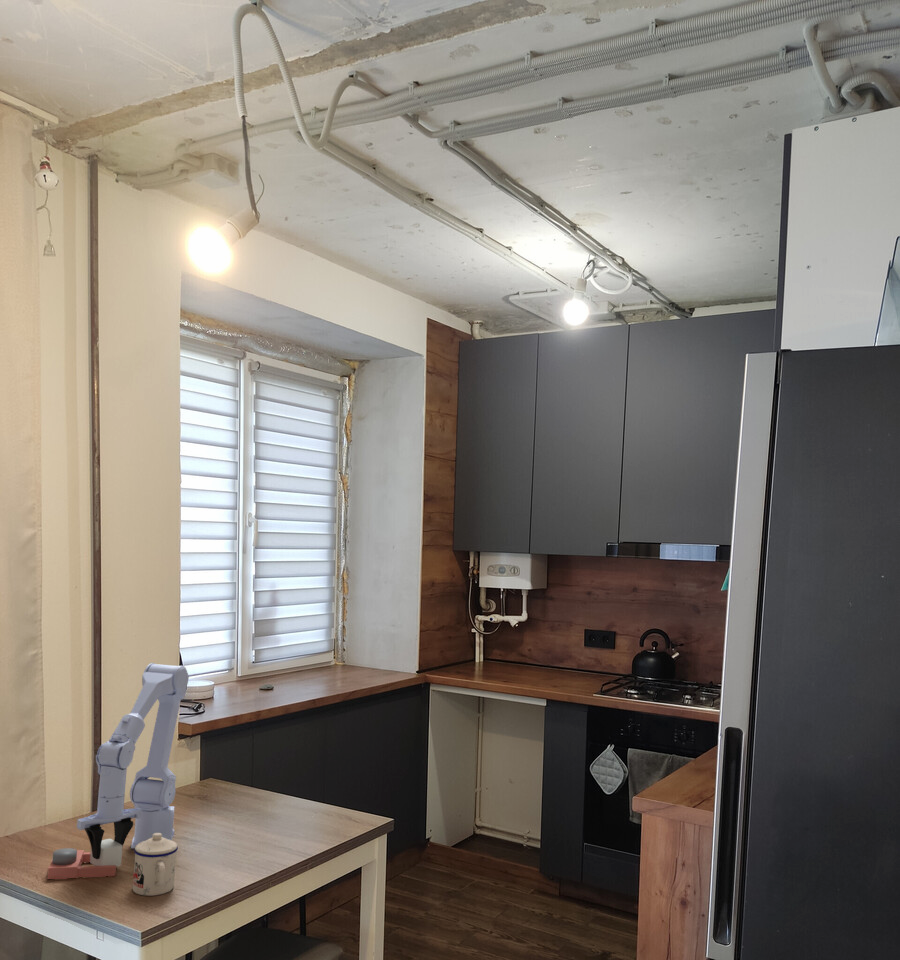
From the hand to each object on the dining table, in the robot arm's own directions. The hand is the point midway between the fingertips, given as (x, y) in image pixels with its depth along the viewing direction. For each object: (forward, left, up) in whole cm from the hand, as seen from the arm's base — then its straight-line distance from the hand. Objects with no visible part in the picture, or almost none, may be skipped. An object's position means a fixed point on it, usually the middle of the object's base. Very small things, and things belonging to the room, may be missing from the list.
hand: (106, 855), depth 200 cm
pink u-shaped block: (+5, 0, -3) cm, 5 cm away
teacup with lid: (-11, +15, -3) cm, 19 cm away
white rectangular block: (0, 0, -2) cm, 2 cm away
